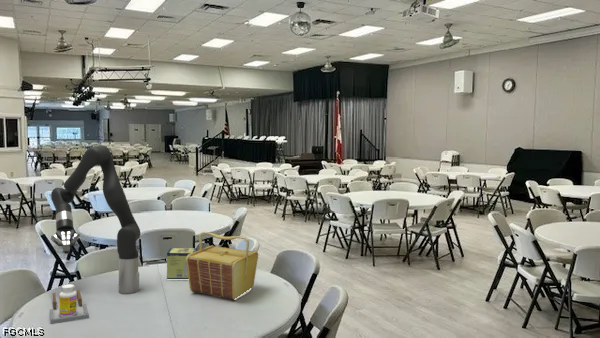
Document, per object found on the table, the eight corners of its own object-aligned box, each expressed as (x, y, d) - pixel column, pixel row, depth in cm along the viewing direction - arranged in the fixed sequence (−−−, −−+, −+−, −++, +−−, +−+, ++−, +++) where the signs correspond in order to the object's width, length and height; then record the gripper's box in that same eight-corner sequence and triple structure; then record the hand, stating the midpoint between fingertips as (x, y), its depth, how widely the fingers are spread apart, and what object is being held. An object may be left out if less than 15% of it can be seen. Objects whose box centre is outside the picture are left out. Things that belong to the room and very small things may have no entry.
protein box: (169, 274, 259) (169, 247, 258) (197, 275, 261) (198, 248, 260) (166, 280, 249) (166, 252, 248) (195, 280, 250) (195, 252, 249)
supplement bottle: (70, 318, 195) (70, 289, 194) (56, 317, 196) (55, 287, 195) (79, 312, 202) (79, 284, 201) (65, 311, 203) (65, 283, 202)
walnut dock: (79, 296, 220) (79, 289, 220) (81, 306, 209) (81, 298, 209) (52, 300, 215) (52, 293, 214) (53, 310, 203) (53, 302, 203)
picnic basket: (183, 295, 227) (184, 235, 225) (211, 280, 251) (213, 226, 249) (234, 305, 217) (236, 242, 214) (259, 289, 240) (261, 232, 238)
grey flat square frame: (85, 307, 208) (85, 304, 208) (88, 317, 196) (88, 314, 196) (49, 312, 201) (49, 309, 200) (50, 323, 189) (50, 320, 189)
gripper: (49, 218, 221) (51, 250, 211) (80, 217, 228) (82, 247, 218) (48, 227, 226) (50, 258, 216) (78, 225, 233) (81, 255, 223)
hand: (66, 252), depth 217 cm, fingers closed
